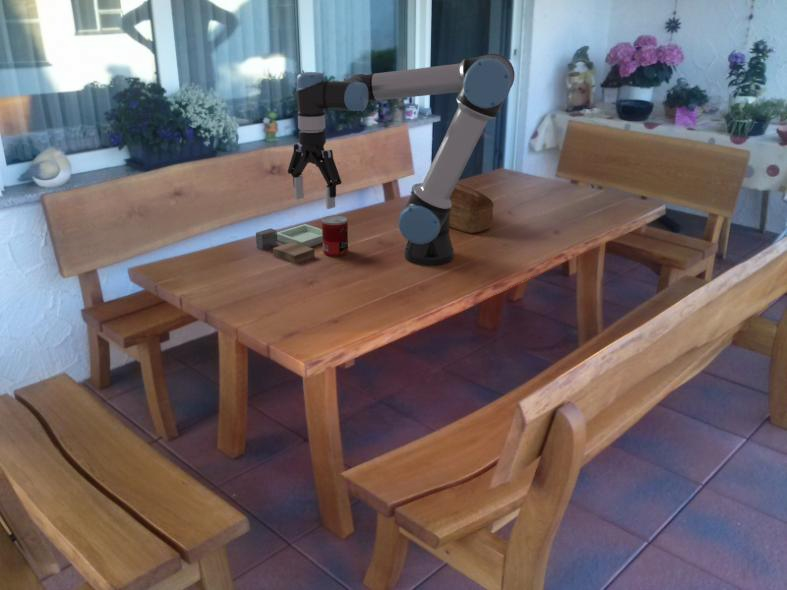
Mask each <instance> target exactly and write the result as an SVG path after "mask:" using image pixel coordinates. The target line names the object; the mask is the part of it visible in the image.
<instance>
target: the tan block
mask: <svg viewBox="0 0 787 590" xmlns="http://www.w3.org/2000/svg"><path fill="white" fill-rule="evenodd" d="M272 252H273V253H272V255H273V257H275V258H278V259H281V260H284V261H287V262H289V263H292V264H294V265H296V264H299V263H302V262H304V261H308V260H310V259H313V258H315V248H312V247H307V246H304V245H301V244H298V243H295V242H290V243H287V244H284V243H283V244H281V245H277V246H274V247H272Z"/></svg>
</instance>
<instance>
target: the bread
mask: <svg viewBox="0 0 787 590" xmlns="http://www.w3.org/2000/svg"><path fill="white" fill-rule="evenodd" d="M450 200H451V203H452V206H451V208H450V219H449V228H454V229H455V230H456V229H457V230H459V231H461V232H463V233H464V232H465V233H469V234H470V233H471V234H475V233H480V232H483V231H486V230H489V229H490V228H491V227H492V225H493V215H494V213H493V209H494V206H495V205H494V202H493V200H492V199H490V198H489V197H488V196H487V195H485V194H483V193H481V192H480V191H477V190H476V189H473V188H470V187H468V186H465V185H462V184H459V183H457V184H456V186H455V188H454V190H453V192H452V194H451V197H450Z"/></svg>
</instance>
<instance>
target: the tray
mask: <svg viewBox="0 0 787 590" xmlns="http://www.w3.org/2000/svg"><path fill="white" fill-rule="evenodd" d="M277 242H279V243H281V244H283V245H284V244H287V243H290V242H295V243H298V244H301V245H304V246H307V247H310V248H312V247H315V246H318V245H321V244H323V239H322V228H319V227H316V226H312V225H311V224H310V225H309V224H307V223H304V224H300V225H298V226H294V227H291V228H287V229H284V230H281V231H277Z"/></svg>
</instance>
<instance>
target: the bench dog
mask: <svg viewBox="0 0 787 590" xmlns="http://www.w3.org/2000/svg"><path fill="white" fill-rule="evenodd" d="M277 232H278V231H277V229H273V228H268V229H264V230H260V231H257V232H255V242H256V248H257V249H259V250H262V251H265V250H267V249H270V248H274V247H278V246H279V245H278V241H277Z"/></svg>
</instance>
